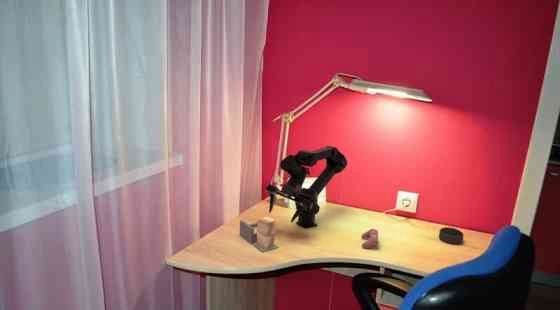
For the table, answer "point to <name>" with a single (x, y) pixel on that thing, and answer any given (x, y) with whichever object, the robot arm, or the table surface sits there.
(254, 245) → the mat
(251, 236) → the tray
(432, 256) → the table surface
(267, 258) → the table surface
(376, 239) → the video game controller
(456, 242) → the smart speaker
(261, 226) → the birch block
